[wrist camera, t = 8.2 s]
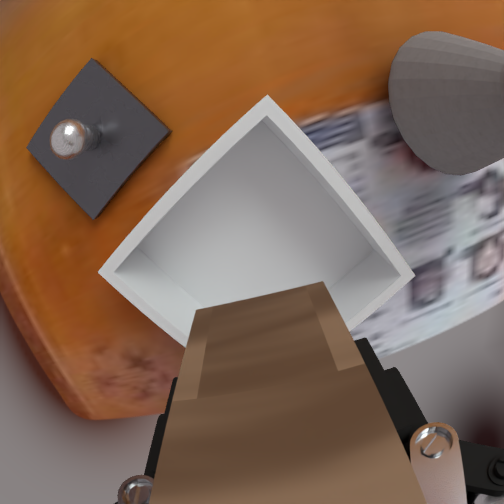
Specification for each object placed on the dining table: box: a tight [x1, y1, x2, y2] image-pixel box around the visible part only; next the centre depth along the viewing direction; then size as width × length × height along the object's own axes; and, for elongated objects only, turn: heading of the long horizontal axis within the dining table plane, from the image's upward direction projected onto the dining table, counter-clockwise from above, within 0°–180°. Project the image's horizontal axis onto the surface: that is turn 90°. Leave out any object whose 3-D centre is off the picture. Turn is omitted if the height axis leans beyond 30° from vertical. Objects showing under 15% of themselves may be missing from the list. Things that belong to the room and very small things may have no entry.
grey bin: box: [98, 95, 415, 348], centre depth 22 cm, size 15×15×6 cm
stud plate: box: [27, 58, 172, 220], centre depth 19 cm, size 9×9×5 cm
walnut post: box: [149, 281, 427, 504], centre depth 8 cm, size 5×5×11 cm
